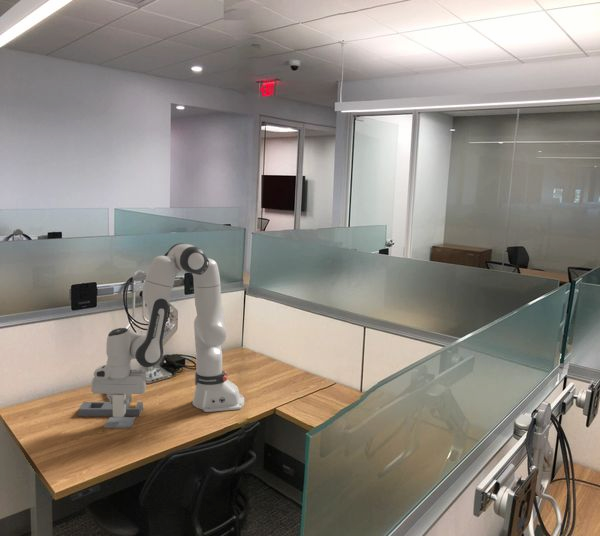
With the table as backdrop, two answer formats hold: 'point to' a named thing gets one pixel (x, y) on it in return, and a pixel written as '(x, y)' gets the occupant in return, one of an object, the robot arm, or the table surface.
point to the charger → (119, 405)
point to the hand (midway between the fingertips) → (119, 403)
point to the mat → (119, 422)
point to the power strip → (108, 409)
